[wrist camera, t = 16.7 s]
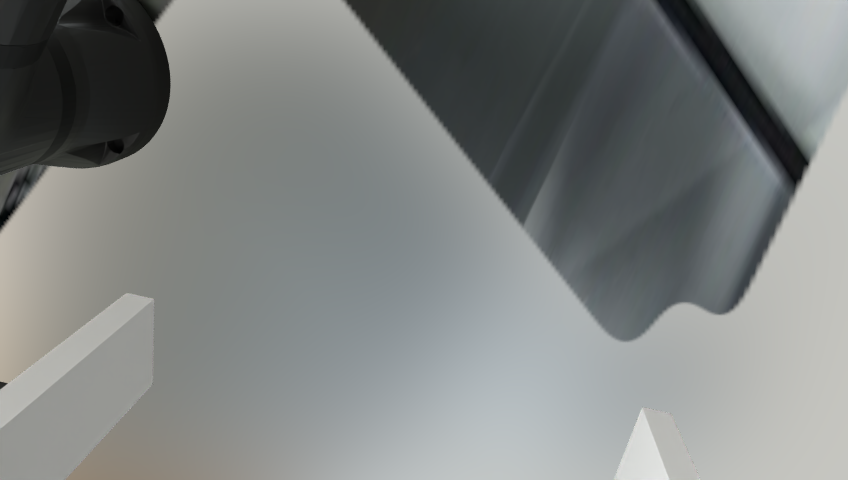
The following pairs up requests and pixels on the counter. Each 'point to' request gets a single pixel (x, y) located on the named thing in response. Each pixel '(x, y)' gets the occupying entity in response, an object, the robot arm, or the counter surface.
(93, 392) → the robot arm
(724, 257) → the counter surface
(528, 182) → the counter surface
